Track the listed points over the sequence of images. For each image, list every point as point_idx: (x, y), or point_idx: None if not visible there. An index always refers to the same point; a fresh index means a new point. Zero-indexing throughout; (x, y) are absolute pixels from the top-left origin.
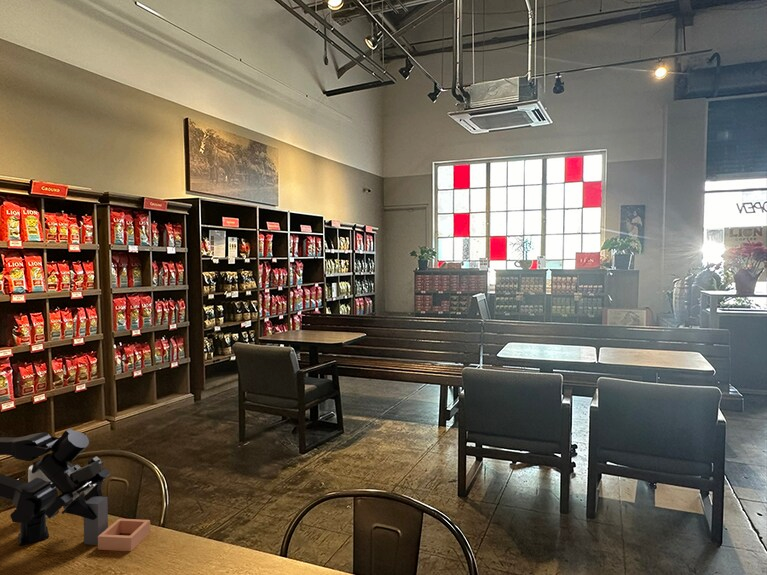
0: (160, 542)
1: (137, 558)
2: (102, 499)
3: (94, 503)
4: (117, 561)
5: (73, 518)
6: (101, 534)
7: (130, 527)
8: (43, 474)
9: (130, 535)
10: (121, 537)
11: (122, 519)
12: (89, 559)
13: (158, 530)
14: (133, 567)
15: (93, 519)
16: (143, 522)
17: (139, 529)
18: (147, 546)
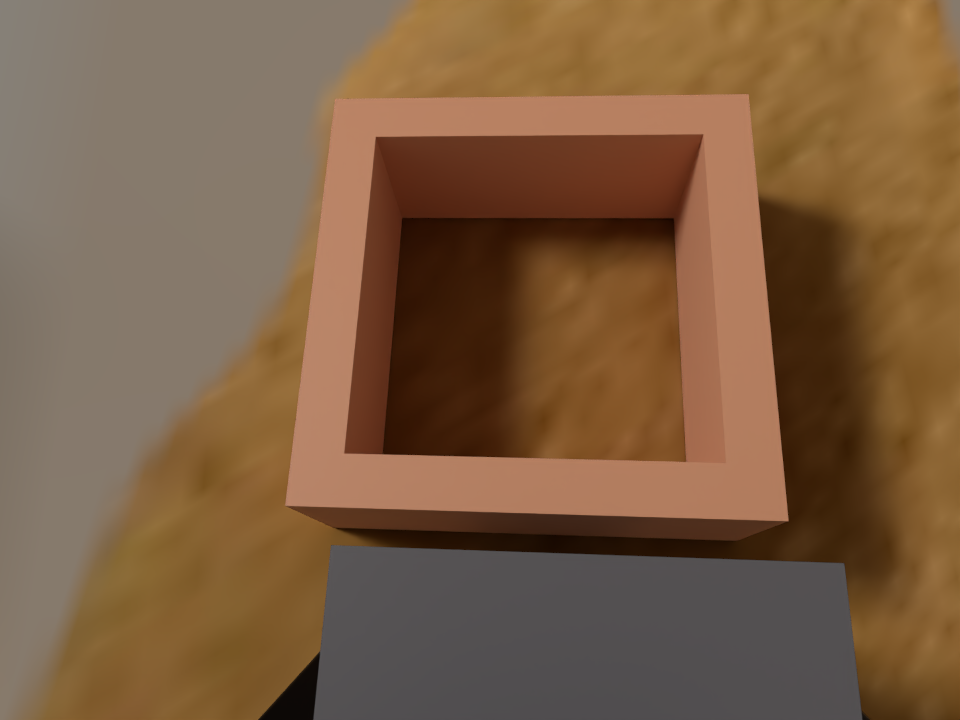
0: (535, 24)
1: (807, 78)
2: (524, 601)
3: (836, 714)
4: (891, 216)
5: None
6: (733, 497)
7: (376, 341)
8: None
9: (695, 129)
10: (757, 201)
11: (314, 439)
12: (931, 517)
13: (329, 133)
14: (939, 42)
15: None
16: (375, 157)
17: (555, 103)
18: (610, 93)
